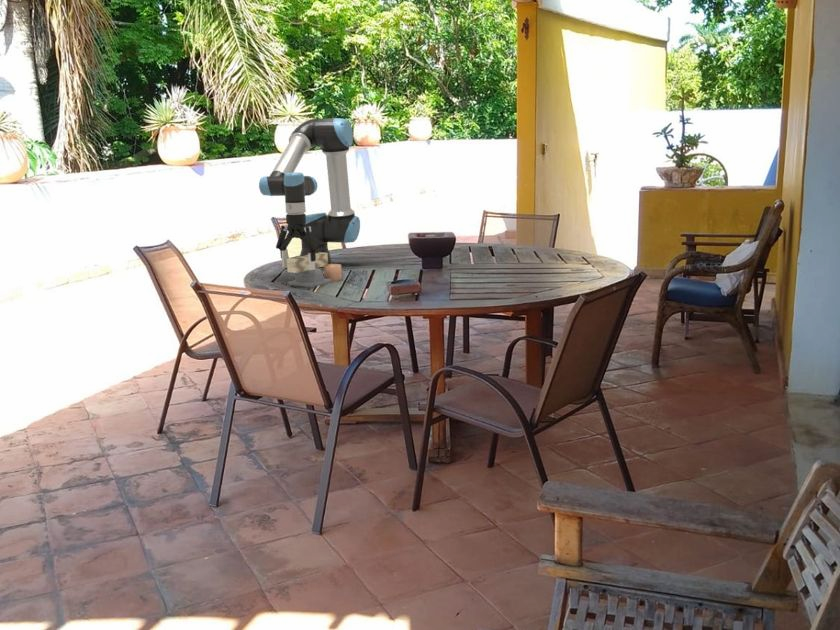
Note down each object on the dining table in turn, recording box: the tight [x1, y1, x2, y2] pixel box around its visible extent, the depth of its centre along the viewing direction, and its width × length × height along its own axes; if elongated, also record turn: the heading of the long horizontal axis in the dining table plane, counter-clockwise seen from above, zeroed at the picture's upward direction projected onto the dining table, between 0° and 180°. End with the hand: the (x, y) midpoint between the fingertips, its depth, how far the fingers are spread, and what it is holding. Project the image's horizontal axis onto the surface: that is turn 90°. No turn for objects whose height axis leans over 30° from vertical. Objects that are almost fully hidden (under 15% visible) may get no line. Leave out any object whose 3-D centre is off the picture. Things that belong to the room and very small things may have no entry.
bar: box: [286, 252, 328, 274], centre depth 318 cm, size 20×4×5 cm, turn 148°
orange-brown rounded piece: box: [323, 263, 343, 282], centre depth 327 cm, size 7×7×6 cm
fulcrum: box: [287, 268, 332, 288], centre depth 320 cm, size 12×12×6 cm
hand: (298, 268), depth 314 cm, fingers open, 13 cm apart
